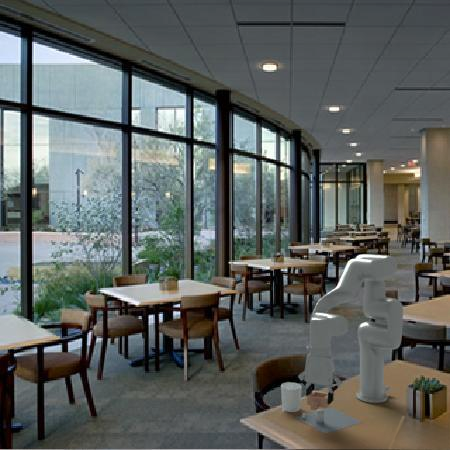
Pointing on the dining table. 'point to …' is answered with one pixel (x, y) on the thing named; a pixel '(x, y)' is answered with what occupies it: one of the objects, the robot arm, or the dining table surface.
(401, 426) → the dining table surface
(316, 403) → the square frame with tab
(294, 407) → the white cup
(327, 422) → the board
